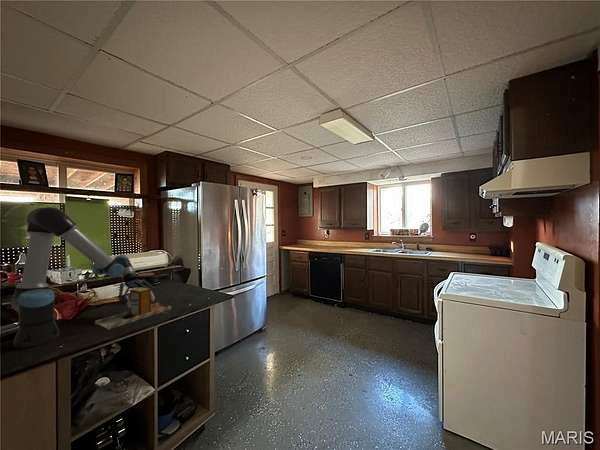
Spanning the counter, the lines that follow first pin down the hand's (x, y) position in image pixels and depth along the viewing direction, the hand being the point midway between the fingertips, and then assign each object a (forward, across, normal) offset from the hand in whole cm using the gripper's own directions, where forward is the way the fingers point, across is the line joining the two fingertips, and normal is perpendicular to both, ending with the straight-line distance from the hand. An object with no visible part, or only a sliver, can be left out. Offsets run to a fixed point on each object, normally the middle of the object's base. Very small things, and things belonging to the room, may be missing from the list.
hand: (142, 303), depth 148 cm
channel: (+4, +3, -7) cm, 8 cm away
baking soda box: (+4, 0, -7) cm, 8 cm away
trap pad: (+4, -10, -7) cm, 13 cm away
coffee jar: (-18, -20, -29) cm, 39 cm away
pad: (+4, +14, -7) cm, 16 cm away
